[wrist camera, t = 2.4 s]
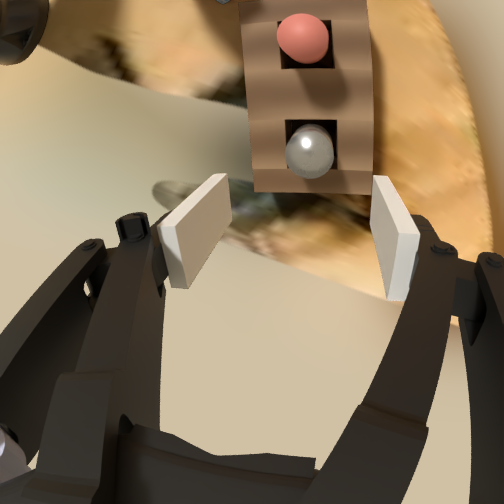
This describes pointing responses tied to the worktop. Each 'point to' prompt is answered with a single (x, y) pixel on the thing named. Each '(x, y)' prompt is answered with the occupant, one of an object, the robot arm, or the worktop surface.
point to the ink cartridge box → (223, 1)
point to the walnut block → (309, 94)
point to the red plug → (303, 38)
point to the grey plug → (310, 151)
